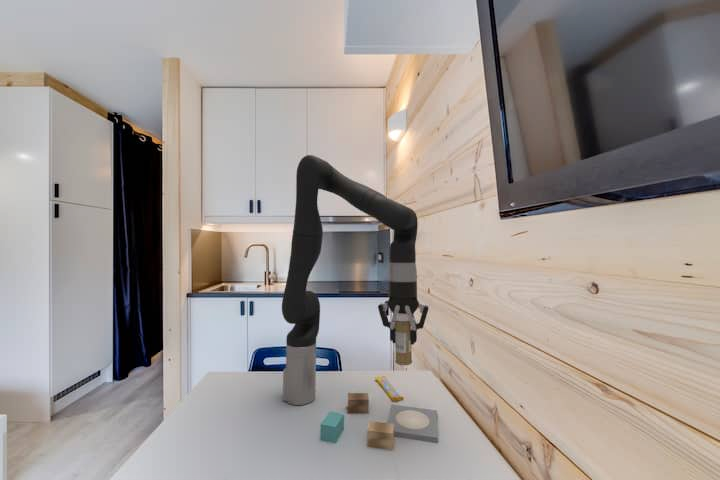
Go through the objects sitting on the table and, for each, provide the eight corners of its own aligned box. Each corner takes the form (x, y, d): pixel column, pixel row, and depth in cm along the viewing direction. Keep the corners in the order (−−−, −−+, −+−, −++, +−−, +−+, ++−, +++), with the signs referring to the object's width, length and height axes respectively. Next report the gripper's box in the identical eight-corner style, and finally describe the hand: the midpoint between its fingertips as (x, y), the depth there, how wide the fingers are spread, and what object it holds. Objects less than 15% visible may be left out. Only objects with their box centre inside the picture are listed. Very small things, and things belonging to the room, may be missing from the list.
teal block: (320, 440, 75) (320, 423, 75) (329, 426, 81) (330, 411, 81) (335, 443, 74) (335, 426, 74) (343, 429, 79) (344, 414, 80)
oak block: (367, 447, 72) (367, 430, 73) (369, 437, 76) (370, 421, 76) (392, 450, 71) (392, 433, 71) (393, 440, 75) (393, 423, 75)
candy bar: (404, 402, 94) (404, 396, 94) (392, 404, 93) (392, 398, 93) (385, 379, 110) (385, 374, 110) (374, 381, 109) (374, 376, 109)
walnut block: (347, 413, 87) (347, 399, 87) (347, 406, 91) (347, 393, 91) (368, 413, 87) (368, 399, 87) (367, 406, 91) (367, 393, 91)
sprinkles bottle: (415, 363, 81) (415, 312, 81) (402, 367, 78) (401, 314, 79) (404, 358, 85) (403, 310, 85) (391, 362, 82) (390, 312, 83)
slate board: (384, 434, 77) (385, 429, 77) (391, 408, 90) (391, 404, 90) (437, 442, 74) (437, 437, 74) (436, 414, 87) (436, 409, 87)
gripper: (374, 280, 80) (374, 345, 80) (429, 281, 77) (430, 349, 76) (379, 277, 88) (379, 337, 87) (430, 278, 84) (430, 340, 84)
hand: (403, 342), depth 82 cm, fingers closed on sprinkles bottle, 4 cm apart
